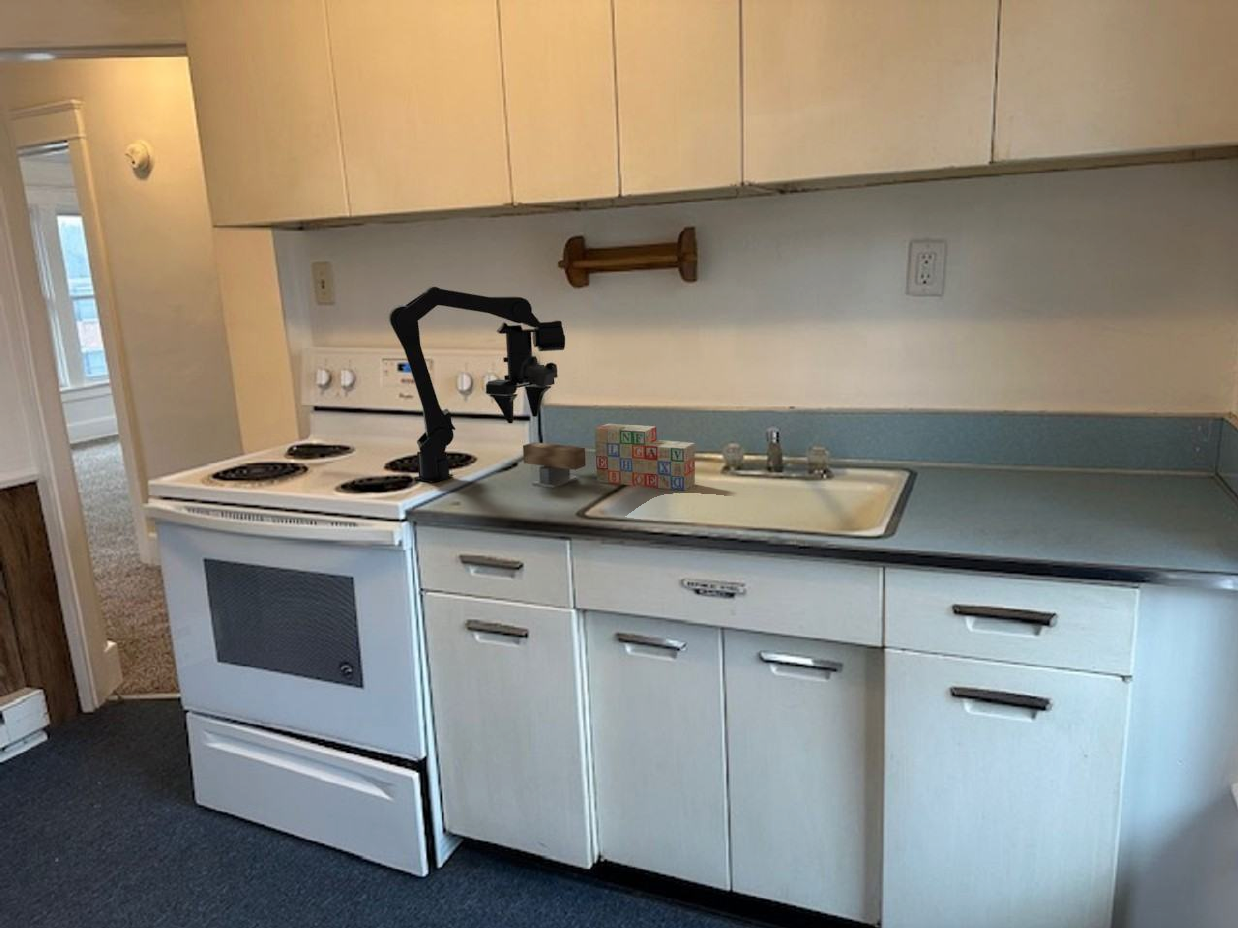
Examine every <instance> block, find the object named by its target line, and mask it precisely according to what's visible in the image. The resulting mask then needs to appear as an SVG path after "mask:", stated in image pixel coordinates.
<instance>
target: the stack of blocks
mask: <svg viewBox="0 0 1238 928" xmlns="http://www.w3.org/2000/svg"><path fill="white" fill-rule="evenodd" d="M594 449H595V466H596V471H595V472H596V481H597V482H599V483H608V484H616V485H617V484H619V485H624V486H625V485H626V486H636V487H647V488H648V487H650V488H656V489H657V488H658V489H664V490H665V489H666V490H675V491H686V490H687V489H689V488H691V487H692V486H694V485H695V484H696V475H695V474H696V471H695V470H696V466H695V465H696V464H695V461H696V459H695V457H696V444H695V442H687V441H676V440H675V441H674V440H663V439H662V440H661V439H659V440H657V426H654V425H641V424H619V423H617V424H616V423H606V424H603V425H600V426H597V427H596V428H594Z"/></svg>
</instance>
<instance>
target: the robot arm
mask: <svg viewBox="0 0 1238 928" xmlns="http://www.w3.org/2000/svg"><path fill="white" fill-rule="evenodd" d="M437 306H441V307H448V308H455V309H460V310H465V311H473V312H478V313H485V314H489V315H493V316H496V317H498V318H502V319H504V320H506V321H508V322H509V321H510V322H513V323H516V325H508V323H506V322H502V323H501V326H500V327H498V328H497V329H496V333H498V334H500V335H501V334H503V335H504V334H505V343H506V344H505V346H506V356H505V357H503V363H507V374H505V375H504V379H498V378H497V379H494V380H493V379H492V380H488V381H487V383H486V384H485V394H487V395H489V396H490V398H491V397H492V398H493V400H494V401H495V403H496V404H497V405H498V408H499V409H500V410H501V413H502V414H503V416H504V418H505V420H506V422H507V423H508V424H513V423H514V401H515V399H516V398H517V397H518V393H517V394H516V392H517V390H518V388H519V389H520V388H523V387H524V390H525V394H526V395H527V401H528V405H529V408H530V412H531V415H532V417H533V418H536V417H538V414H539V412H540V408H541V404H542V400H543V397H544V394H545V393H546V392H548V391H549V390H550V389H552V385H555V379H557V378H558V377H559V376H558V367H557V364H556V363H554V362H547V363H546V364H539V363H538V358H537V356H536V355H533V347H534V348H537V350H538V352H550V351H551V352H552V351H553V352H555V351H564V349H565V347H566V336H565V333H564V327H563V323H562V320H552V321H539V319H538V318H537V317H536V316H535V314H534V313H533V310H532V309H533V308H532V304H531V303H530V301H529V300H527V299H526V298H525V297H521V296H512V295H511V296H484V295H481V294H473V293H468V292H464V291H463V292H462V291H456V290H450V289H449V290H448V289H445V288H444V289H443V288H440V287H437V286H429V287H428V288H427V289H426V290H425V291H423V293H421V294H419V296H416V297H415V298H414V299H412V300H411V301H409V302H408V303H406V304H405V305H397V306H395V307H393V308H392V309H391V311H390V312H389V314H388V321H389V325H390V326H391V328H392V329H393V331H394V334H395V335H396V337H397V339H398V341H399V343H400V345H401V346H402V349H403V350H404V354H405V357H406V360H407V363H408V366H409V369H410V372H411V375H412V378H413V379H412V380H413V382H414V385H415V387H416V392H417V394H418V398H419V400H420V401H419V402H420V403H421V406H422V415H423V423H424V433H423V434H422V435H421V436H420V437H419V438H418V439H417V440H416V443H417V447H418V449H419V451H416V457H417V467H418V468H417V469H418V476H414V477H413V480H414V481H420V482H427V481H432V482H431V483H436V482H435V481H438V482H440V481H439V480H441V481H443V480H442V479H444V478H447V477H450V476H453V477H454V474H452V473H450V466H449V458H448V453H447V451H446V449H447V447H448V446H449V445H450V444H451V443H452V441H453V439H454V437H455V436H454V431H455V430H456V427H455V426H454V424H453V421H452V416H451V412H450V411H449V408H445V409H443V410H442V407H441V405H440V403H439V400H438V396H437V394H436V391H435V388H434V385H433V384H434V383H433V381H432V378H431V375H430V372H429V368H428V366H427V363H426V362H427V361H426V360H425V355H424V353H423V350H422V347H421V339H420V338H421V337H420V328H419V320H421V319H422V318H423V317H425V316H426V315H428V314H429V313H430V312H431V311H432V310H433V309H434V308H436V307H437ZM520 324H524V326H525V325H526V326H527V327H531V328H522V325H520ZM532 345H533V346H532ZM450 478H451V477H450ZM447 479H448V478H447ZM444 480H445V479H444Z"/></svg>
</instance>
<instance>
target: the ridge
mask: <svg viewBox="0 0 1238 928" xmlns="http://www.w3.org/2000/svg"><path fill="white" fill-rule="evenodd" d="M538 471H539V479H536V480H535V481H532V482H531V486H537V487H544V488H550V489H556V488H558V487H561V486H563V485H566V484H569V483H570V482H571V483H572V482H574V481H576V480H578V479H579V476H577V475H571V473H570V472H571V469H566V468H558V467H550V466H540V467H539V469H538Z"/></svg>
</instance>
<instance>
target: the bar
mask: <svg viewBox="0 0 1238 928" xmlns="http://www.w3.org/2000/svg"><path fill="white" fill-rule="evenodd" d="M522 449H523V450H522V454H523V455H522V456H523V464H528V465H535V466H536V465H538V466H541V467H543V466H550V467H558V468H566V469H570V470H574V471H576V470H578V469H581V468H583V467H586V465H587V464H586V448H585V447H581V446H579V447H578V446H571V445H564V444H552V443H544V442H537V441H536V442H534V441H532V442H530V443H527V444H524V445H522Z"/></svg>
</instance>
